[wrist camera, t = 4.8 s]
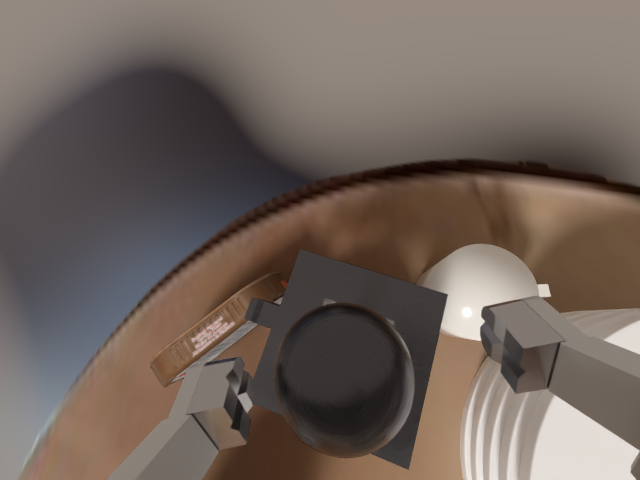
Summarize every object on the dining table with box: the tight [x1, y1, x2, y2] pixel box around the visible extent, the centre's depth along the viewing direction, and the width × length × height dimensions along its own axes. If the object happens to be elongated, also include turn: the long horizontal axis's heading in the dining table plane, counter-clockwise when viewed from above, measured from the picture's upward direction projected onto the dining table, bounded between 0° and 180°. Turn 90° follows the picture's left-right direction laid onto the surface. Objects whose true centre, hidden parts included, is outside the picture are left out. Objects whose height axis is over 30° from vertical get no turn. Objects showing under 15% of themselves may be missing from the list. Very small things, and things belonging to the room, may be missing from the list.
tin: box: [149, 271, 288, 387], centre depth 29 cm, size 15×3×8 cm, turn 127°
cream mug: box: [416, 244, 551, 341], centre depth 27 cm, size 9×8×9 cm
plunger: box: [274, 298, 415, 458], centre depth 13 cm, size 7×7×14 cm
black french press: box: [244, 249, 448, 470], centre depth 24 cm, size 12×10×15 cm
